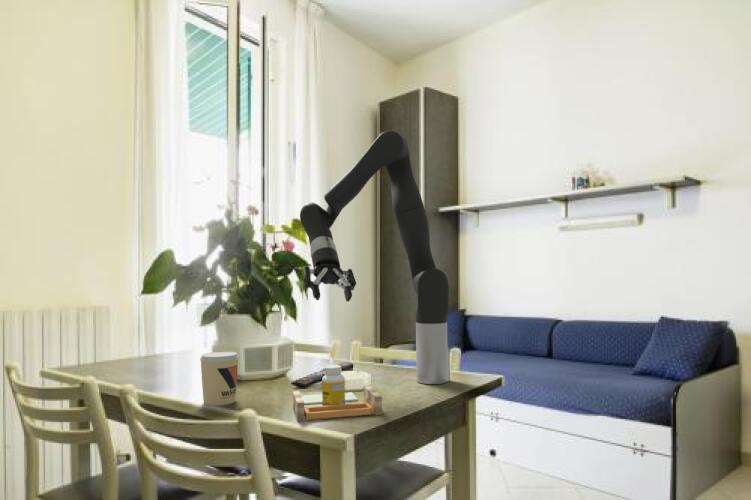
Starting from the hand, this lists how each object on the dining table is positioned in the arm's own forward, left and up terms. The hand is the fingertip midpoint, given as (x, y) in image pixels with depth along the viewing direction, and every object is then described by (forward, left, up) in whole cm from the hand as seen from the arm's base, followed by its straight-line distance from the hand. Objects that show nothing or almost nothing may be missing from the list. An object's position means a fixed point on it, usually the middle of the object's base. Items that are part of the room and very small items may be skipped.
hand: (333, 298), depth 138 cm
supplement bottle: (+9, +10, -25) cm, 29 cm away
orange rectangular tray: (+12, +16, -25) cm, 33 cm away
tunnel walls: (+11, +13, -25) cm, 30 cm away
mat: (+4, +3, -25) cm, 26 cm away
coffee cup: (+25, -16, -25) cm, 39 cm away
